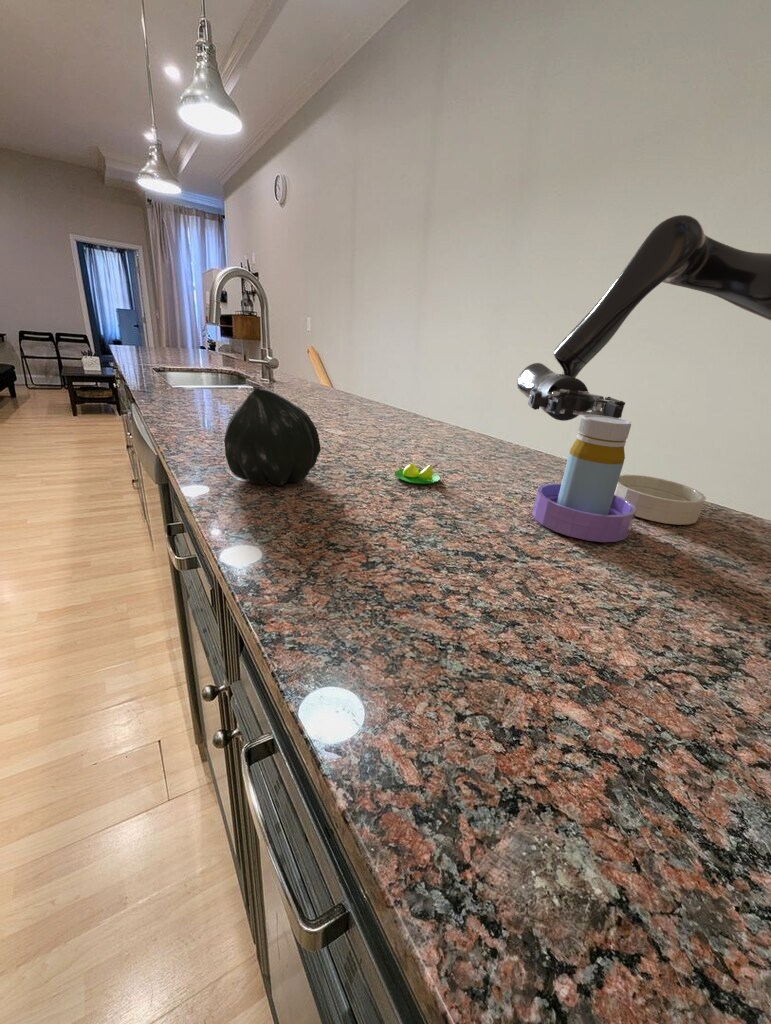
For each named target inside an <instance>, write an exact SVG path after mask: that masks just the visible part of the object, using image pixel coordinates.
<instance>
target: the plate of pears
mask: <svg viewBox="0 0 771 1024" xmlns="http://www.w3.org/2000/svg"><path fill="white" fill-rule="evenodd" d="M393 475H394V476H395V477H396V478H398V479H400V480H401V481H402V482H405V483H407V484H413V485H430V484H433V483H437V482H439V481H440V479H441V478H440V475H438V474H437V473H434V469H433V467H432V466H431V464H428V465H427V466H426V467H424V468H423V469H420V468H418V467H417V466H416V465H415V463H414V462H410V464H408V465H406V466H405V467H404V468H402V469H398V470H396V471H395V472H394V474H393Z"/></svg>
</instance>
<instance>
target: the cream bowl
mask: <svg viewBox="0 0 771 1024" xmlns="http://www.w3.org/2000/svg"><path fill="white" fill-rule="evenodd" d="M614 494H615V495H618V496H620V497H622V498H624V499H626V500H628V501H629V502H631V503H632V504H633V505H634V506H635V507H636V515H635V517H637V518H640V519H643V520H646V521H651V522H656V523H662V524H668V525H675V526H676V525H681V526H682V525H692V524H696V523H697V522H698V520H699V517H700V515H701V513H702V510H703V507H704V505H705V502H706V500H707V497H706V496H705V494H704V493H702V492H701V491H699V490H697V489H695V488H693V487H690V486H688V485H685V484H682V483H679V482H677V481H673V480H668V479H664V478H659V477H656V476H655V477H654V476H650V475H643V474H642V475H640V474H620V477H619V480H618V483H617V486H616V490H615V493H614Z"/></svg>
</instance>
